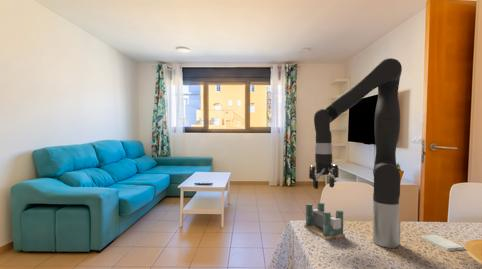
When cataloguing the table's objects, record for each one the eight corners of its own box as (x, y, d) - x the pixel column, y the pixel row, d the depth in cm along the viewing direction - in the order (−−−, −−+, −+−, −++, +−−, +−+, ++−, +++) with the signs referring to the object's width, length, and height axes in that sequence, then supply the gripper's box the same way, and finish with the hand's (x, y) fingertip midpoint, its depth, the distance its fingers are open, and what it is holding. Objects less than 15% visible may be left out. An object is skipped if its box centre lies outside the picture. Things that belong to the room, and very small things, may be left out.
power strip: (314, 219, 127) (315, 206, 126) (341, 233, 109) (341, 218, 109) (308, 220, 125) (308, 207, 125) (333, 234, 108) (333, 219, 108)
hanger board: (321, 224, 126) (321, 202, 126) (344, 236, 111) (344, 211, 111) (304, 226, 123) (304, 203, 123) (325, 239, 108) (326, 213, 108)
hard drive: (419, 235, 110) (447, 247, 98) (436, 234, 112) (465, 246, 99) (419, 239, 110) (447, 252, 98) (436, 238, 112) (465, 250, 99)
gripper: (315, 153, 111) (315, 190, 111) (341, 152, 116) (342, 188, 116) (305, 152, 118) (306, 187, 118) (330, 151, 123) (331, 185, 123)
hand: (323, 187), depth 117 cm, fingers open, 8 cm apart
